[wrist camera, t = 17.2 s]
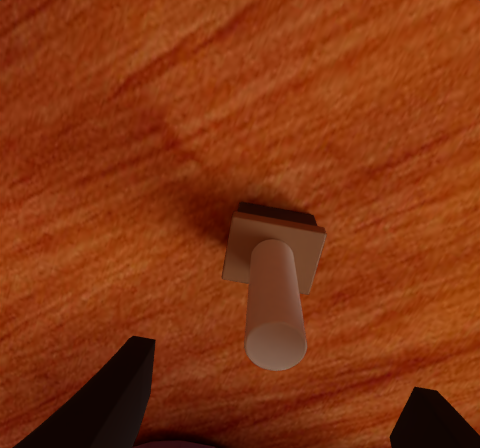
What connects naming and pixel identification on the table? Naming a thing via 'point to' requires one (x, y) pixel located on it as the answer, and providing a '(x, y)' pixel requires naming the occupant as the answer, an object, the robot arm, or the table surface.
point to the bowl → (172, 445)
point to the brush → (273, 279)
